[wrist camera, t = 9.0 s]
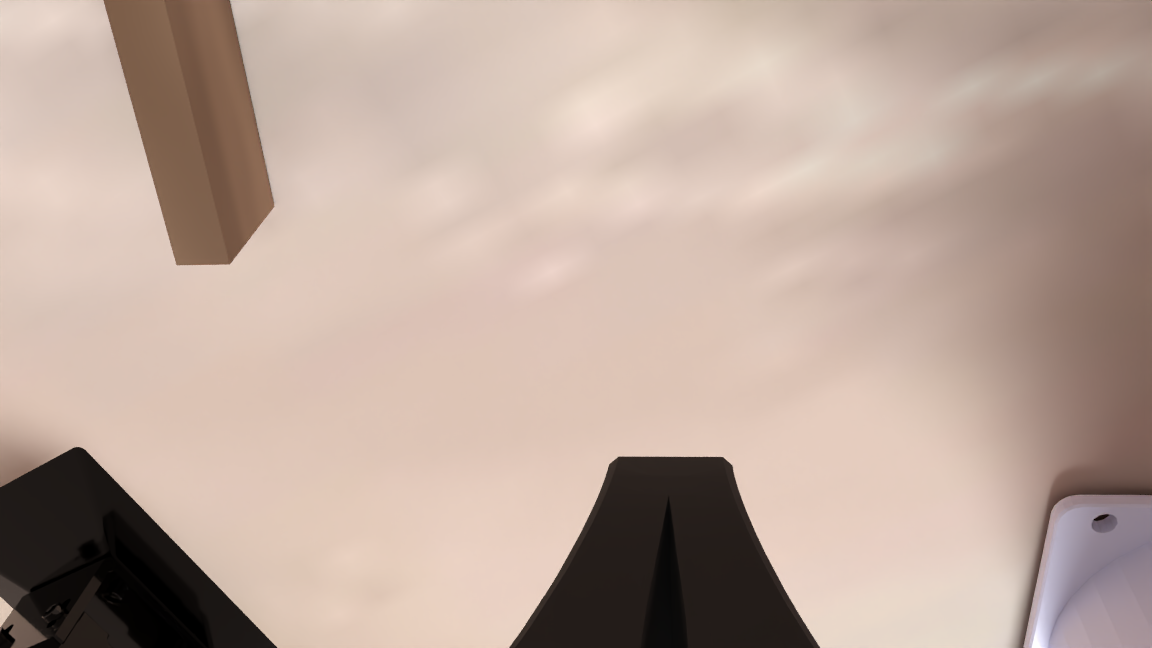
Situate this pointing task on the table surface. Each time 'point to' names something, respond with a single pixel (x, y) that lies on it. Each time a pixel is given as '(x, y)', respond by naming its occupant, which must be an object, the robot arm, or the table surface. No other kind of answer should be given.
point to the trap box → (194, 122)
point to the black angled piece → (102, 570)
